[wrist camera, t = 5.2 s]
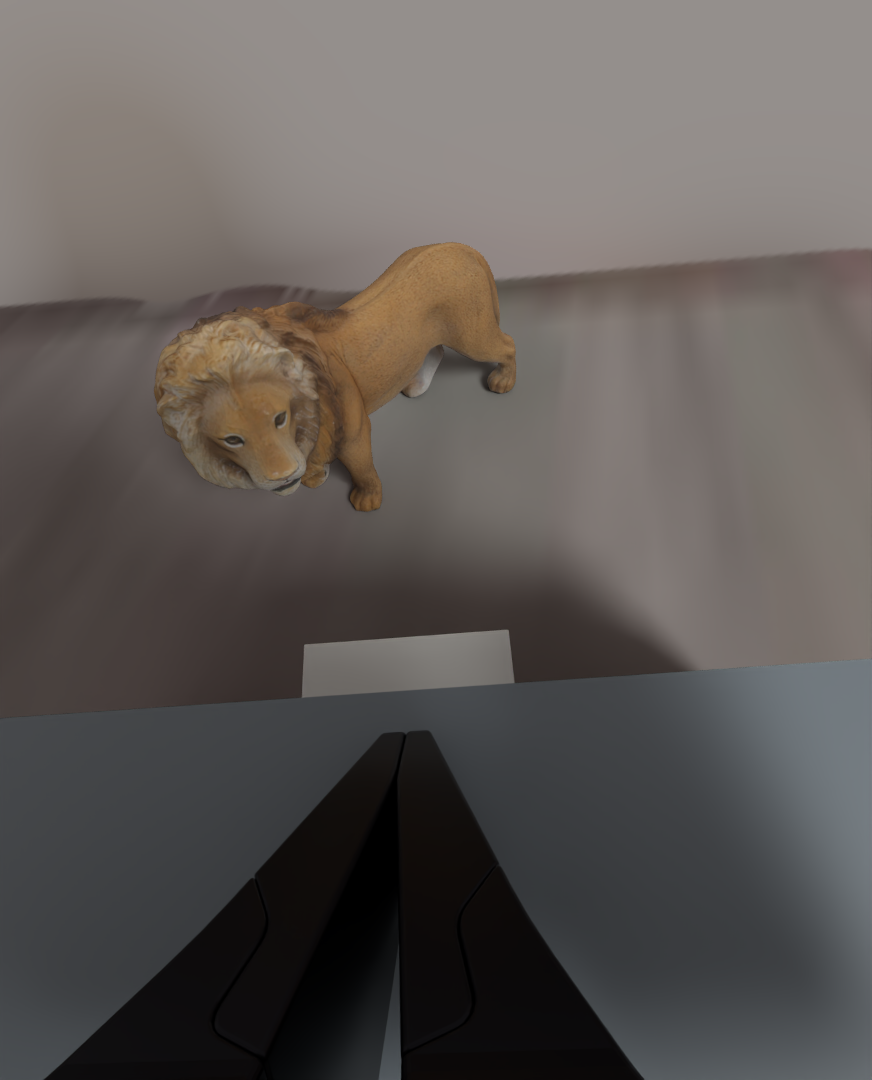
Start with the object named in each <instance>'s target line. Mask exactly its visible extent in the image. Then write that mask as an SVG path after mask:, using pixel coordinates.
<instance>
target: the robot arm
mask: <svg viewBox="0 0 872 1080" xmlns="http://www.w3.org/2000/svg"><path fill="white" fill-rule="evenodd" d="M254 878H255V879H254ZM254 878H250V879H249V880H248V881H247V882H246V884H245V885H244V886H243V887H242V888H241V889H240V890H239V891H238V892H237V893H236V895H235V896H234V897H233V898H232V899H231V900H230V901H229V902H228V903H227V904H226V905H225V906H224V907H223V908H222V909H221V911H220V912H219V913H218V914H217V915H216V916H215V917H214V918H213V919H212V920H211V921H210V922H209V923H208V924H207V925H206V926H205V927H204V928H203V930H202V931H201V932H200V933H199V934H197V935H196V936H195V937H194V938H193V939H192V940H191V941H190V942H189V943H188V944H187V945H186V946H185V947H184V948H183V949H182V950H181V951H180V952H179V953H178V954H177V955H176V956H175V957H174V958H173V959H172V960H171V961H170V962H169V963H168V964H167V965H166V966H165V967H164V968H163V969H162V970H160V971H159V972H158V973H157V974H156V975H155V976H154V977H153V978H152V979H151V980H150V981H149V982H148V983H147V984H146V985H144V986H143V987H142V988H141V989H140V990H139V991H138V992H137V993H136V994H135V995H134V996H133V997H132V998H131V999H130V1000H129V1001H127V1002H126V1003H125V1004H124V1005H123V1006H122V1007H121V1008H120V1009H119V1010H118V1011H117V1012H116V1013H115V1014H114V1015H113V1016H112V1017H110V1018H109V1019H108V1020H107V1021H106V1022H105V1023H104V1024H103V1025H102V1026H101V1027H100V1028H99V1029H98V1030H97V1031H96V1032H94V1033H93V1034H92V1035H91V1036H90V1037H89V1038H88V1039H87V1040H86V1041H85V1042H84V1043H83V1044H82V1045H81V1046H80V1047H79V1048H77V1049H76V1050H75V1051H74V1052H73V1053H72V1054H71V1055H70V1056H69V1057H68V1058H67V1059H66V1060H65V1061H64V1062H63V1063H62V1064H60V1065H59V1066H58V1067H57V1068H56V1069H55V1070H54V1071H53V1072H51V1073H50V1074H49V1075H48V1076H47V1077H46V1078H45V1079H44V1080H379V1074H380V1067H381V1060H382V1053H383V1047H384V1040H385V1033H386V1026H387V1020H388V1013H389V1006H390V999H391V993H392V986H393V979H394V972H395V966H396V959H397V952H398V945H399V986H400V1048H401V1080H645V1079H644V1078H643V1077H642V1076H641V1074H640V1073H639V1072H638V1071H637V1069H636V1068H635V1067H634V1065H633V1064H632V1063H631V1061H630V1060H629V1059H628V1057H627V1056H626V1055H625V1053H624V1052H623V1051H622V1049H621V1048H620V1046H619V1045H618V1044H617V1042H616V1041H615V1039H614V1038H613V1037H612V1035H611V1034H610V1032H609V1031H608V1030H607V1028H606V1027H605V1025H604V1024H603V1023H602V1021H601V1020H600V1018H599V1017H598V1015H597V1014H596V1013H595V1011H594V1010H593V1008H592V1007H591V1006H590V1004H589V1003H588V1001H587V1000H586V999H585V997H584V996H583V994H582V993H581V992H580V990H579V989H578V987H577V986H576V984H575V983H574V982H573V980H572V979H571V977H570V976H569V975H568V973H567V972H566V970H565V969H564V968H563V966H562V965H561V963H560V962H559V961H558V959H557V958H556V956H555V955H554V953H553V952H552V950H551V949H550V947H549V946H548V944H547V943H546V941H545V940H544V938H543V937H542V935H541V934H540V932H539V931H538V929H537V928H536V926H535V925H534V923H533V922H532V920H531V919H530V917H529V915H528V914H527V912H526V910H525V908H524V907H523V905H522V903H521V901H520V900H519V898H518V896H517V894H516V893H515V891H514V889H513V887H512V885H511V884H510V882H509V880H508V878H507V876H506V874H505V872H504V870H503V868H502V867H501V866H500V864H499V861H498V859H497V857H496V856H495V854H494V852H493V850H492V848H491V846H490V844H489V842H488V840H487V838H486V836H485V835H484V833H483V831H482V829H481V827H480V825H479V823H478V821H477V819H476V817H475V815H474V814H473V812H472V810H471V808H470V806H469V804H468V802H467V800H466V798H465V796H464V794H463V793H462V791H461V789H460V787H459V785H458V783H457V781H456V779H455V777H454V775H453V773H452V772H451V770H450V768H449V766H448V764H447V762H446V760H445V758H444V756H443V754H442V752H441V751H440V749H439V747H438V745H437V743H436V741H435V739H434V737H433V735H432V733H431V732H430V731H429V730H420V731H409V732H408V733H407V734H405V733H404V732H389V733H383V734H381V735H380V736H379V737H378V738H377V739H376V741H375V742H374V743H373V744H372V745H371V746H370V747H369V748H368V749H367V750H366V752H365V753H364V754H363V755H362V756H361V757H360V758H359V759H358V760H357V762H356V763H355V764H354V765H353V766H352V767H351V768H350V769H349V770H348V771H347V773H346V774H345V775H344V776H343V777H342V778H341V779H340V780H339V781H338V782H337V784H336V785H335V786H334V787H333V788H332V789H331V790H330V791H329V792H328V793H327V795H326V796H325V797H324V798H323V799H322V800H321V801H320V802H319V803H318V804H317V806H316V807H315V808H314V809H313V810H312V811H311V812H310V813H309V814H308V816H307V817H306V818H305V819H304V820H303V821H302V822H301V823H300V824H299V825H298V827H297V828H296V829H295V830H294V831H293V832H292V833H291V834H290V835H289V836H288V838H287V839H286V840H285V841H284V842H283V843H282V844H281V845H280V846H279V847H278V849H277V850H276V851H275V852H274V853H273V854H272V855H271V856H270V857H269V858H268V860H267V861H266V862H265V863H264V864H263V865H262V866H261V867H260V868H259V870H258V871H257V872H256V873H255V875H254Z"/></svg>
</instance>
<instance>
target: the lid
mask: <svg viewBox="0 0 872 1080" xmlns="http://www.w3.org/2000/svg"><path fill="white" fill-rule="evenodd" d="M420 730H429V731H430V732H431V733H432V735H433V737H434V739H435V741H436V743H437V745H438V747H439V749H440V751H441V752H442V754H443V756H444V758H445V760H446V762H447V764H448V766H449V768H450V770H451V772H452V773H453V775H454V777H455V779H456V781H457V783H458V785H459V787H460V789H461V791H462V793H463V794H464V796H465V798H466V800H467V802H468V804H469V806H470V808H471V810H472V812H473V814H474V815H475V817H476V819H477V821H478V823H479V825H480V827H481V829H482V831H483V833H484V835H485V836H486V838H487V840H488V842H489V844H490V846H491V848H492V850H493V852H494V854H495V856H496V857H497V859H498V861H499V864H500V866H501V867H502V868H503V870H504V872H505V874H506V876H507V878H508V880H509V882H510V884H511V885H512V887H513V889H514V891H515V893H516V894H517V896H518V898H519V900H520V901H521V903H522V905H523V907H524V908H525V910H526V912H527V914H528V915H529V917H530V919H531V920H532V922H533V923H534V925H535V926H536V928H537V929H538V931H539V932H540V934H541V935H542V937H543V938H544V940H545V941H546V943H547V944H548V946H549V947H550V949H551V950H552V952H553V953H554V955H555V956H556V958H557V959H558V961H559V962H560V963H561V965H562V966H563V968H564V969H565V970H566V972H567V973H568V975H569V976H570V977H571V979H572V980H573V982H574V983H575V984H576V986H577V987H578V989H579V990H580V992H581V993H582V994H583V996H584V997H585V999H586V1000H587V1001H588V1003H589V1004H590V1006H591V1007H592V1008H593V1010H594V1011H595V1013H596V1014H597V1015H598V1017H599V1018H600V1020H601V1021H602V1023H603V1024H604V1025H605V1027H606V1028H607V1030H608V1031H609V1032H610V1034H611V1035H612V1037H613V1038H614V1039H615V1041H616V1042H617V1044H618V1045H619V1046H620V1048H621V1049H622V1051H623V1052H624V1053H625V1055H626V1056H627V1057H628V1059H629V1060H630V1061H631V1063H632V1064H633V1065H634V1067H635V1068H636V1069H637V1071H638V1072H639V1073H640V1074H641V1076H642V1077H643V1078H644V1079H645V1080H872V659H861V660H846V661H831V662H817V663H802V664H787V665H773V666H758V667H743V668H729V669H714V670H699V671H685V672H670V673H655V674H641V675H626V676H611V677H597V678H582V679H567V680H553V681H538V682H523V683H515V682H514V674H513V665H512V656H511V647H510V639H509V630H495V631H482V632H468V633H455V634H441V635H428V636H414V637H401V638H387V639H373V640H360V641H346V642H333V643H319V644H306V645H304V661H303V683H302V698H289V699H274V700H260V701H245V702H230V703H216V704H201V705H186V706H172V707H157V708H142V709H128V710H113V711H98V712H84V713H69V714H54V715H40V716H25V717H10V718H0V1080H44V1079H45V1078H46V1077H47V1076H48V1075H49V1074H50V1073H51V1072H53V1071H54V1070H55V1069H56V1068H57V1067H58V1066H59V1065H60V1064H62V1063H63V1062H64V1061H65V1060H66V1059H67V1058H68V1057H69V1056H70V1055H71V1054H72V1053H73V1052H74V1051H75V1050H76V1049H77V1048H79V1047H80V1046H81V1045H82V1044H83V1043H84V1042H85V1041H86V1040H87V1039H88V1038H89V1037H90V1036H91V1035H92V1034H93V1033H94V1032H96V1031H97V1030H98V1029H99V1028H100V1027H101V1026H102V1025H103V1024H104V1023H105V1022H106V1021H107V1020H108V1019H109V1018H110V1017H112V1016H113V1015H114V1014H115V1013H116V1012H117V1011H118V1010H119V1009H120V1008H121V1007H122V1006H123V1005H124V1004H125V1003H126V1002H127V1001H129V1000H130V999H131V998H132V997H133V996H134V995H135V994H136V993H137V992H138V991H139V990H140V989H141V988H142V987H143V986H144V985H146V984H147V983H148V982H149V981H150V980H151V979H152V978H153V977H154V976H155V975H156V974H157V973H158V972H159V971H160V970H162V969H163V968H164V967H165V966H166V965H167V964H168V963H169V962H170V961H171V960H172V959H173V958H174V957H175V956H176V955H177V954H178V953H179V952H180V951H181V950H182V949H183V948H184V947H185V946H186V945H187V944H188V943H189V942H190V941H191V940H192V939H193V938H194V937H195V936H196V935H197V934H199V933H200V932H201V931H202V930H203V928H204V927H205V926H206V925H207V924H208V923H209V922H210V921H211V920H212V919H213V918H214V917H215V916H216V915H217V914H218V913H219V912H220V911H221V909H222V908H223V907H224V906H225V905H226V904H227V903H228V902H229V901H230V900H231V899H232V898H233V897H234V896H235V895H236V893H237V892H238V891H239V890H240V889H241V888H242V887H243V886H244V885H245V884H246V882H247V881H248V880H249V879H250V878H254V875H255V873H256V872H257V871H258V870H259V868H260V867H261V866H262V865H263V864H264V863H265V862H266V861H267V860H268V858H269V857H270V856H271V855H272V854H273V853H274V852H275V851H276V850H277V849H278V847H279V846H280V845H281V844H282V843H283V842H284V841H285V840H286V839H287V838H288V836H289V835H290V834H291V833H292V832H293V831H294V830H295V829H296V828H297V827H298V825H299V824H300V823H301V822H302V821H303V820H304V819H305V818H306V817H307V816H308V814H309V813H310V812H311V811H312V810H313V809H314V808H315V807H316V806H317V804H318V803H319V802H320V801H321V800H322V799H323V798H324V797H325V796H326V795H327V793H328V792H329V791H330V790H331V789H332V788H333V787H334V786H335V785H336V784H337V782H338V781H339V780H340V779H341V778H342V777H343V776H344V775H345V774H346V773H347V771H348V770H349V769H350V768H351V767H352V766H353V765H354V764H355V763H356V762H357V760H358V759H359V758H360V757H361V756H362V755H363V754H364V753H365V752H366V750H367V749H368V748H369V747H370V746H371V745H372V744H373V743H374V742H375V741H376V739H377V738H378V737H379V736H380V735H381V734H383V733H389V732H404V733H405V734H407V733H408V732H409V731H420ZM254 879H255V878H254ZM379 1080H401V1048H400V986H399V945H398V952H397V959H396V966H395V972H394V979H393V986H392V993H391V999H390V1006H389V1013H388V1020H387V1026H386V1033H385V1040H384V1047H383V1053H382V1060H381V1067H380V1074H379Z"/></svg>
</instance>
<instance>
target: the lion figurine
mask: <svg viewBox="0 0 872 1080" xmlns="http://www.w3.org/2000/svg"><path fill="white" fill-rule="evenodd" d="M499 321H500V313H499V303H498V295H497V290H496V285H495V281H494V277H493V274H492V272H491V269H490V267H489V265H488V263H487V261H486V260H485V259H484V257H483V256H482V255H481V254H480V253H479V252H478V251H476V250H475V249H473V248H471V247H470V246H467V245H464V244H461V243H453V242H449V243H443V244H432V245H426V246H421V247H415V248H412V249H409V250H408V251H406V252H404V253H403V254H402V255H401V256H400V257H398V258H397V259H396V260H395V261H394V263H393V264H391V265H390V267H388V269H387V270H386V271H385V272H384V273H383V274H382V275H381V276H380V277H379V278H378V279H377V280H376V281H374V282H373V283H372V284H371V285H370V286H368V287H367V288H366V289H365V290H363V291H362V292H361V293H359V294H358V295H357V296H355V297H354V298H352V299H351V300H349V301H348V302H346V303H345V304H343V305H341V306H340V307H338V308H336V309H335V310H320V309H318V308H315V307H313V306H311V305H308V304H303V303H300V302H288V303H286V304H283V305H277V306H272V307H270V308H268V309H266V310H264V309H262V308H260V307H256V308H254V309H252V310H249V309H247V308H245V307H243V306H239V307H236V308H235V310H234V311H233V312H226V313H221V314H219V315H215V316H211V317H208V318H200V319H198V320H197V322H196V323H195V325H194V327H193V328H192V329H188V330H184V331H182V332H180V333H178V336H177V337H176V338H175V339H173V340H172V341H171V343H170V344H169V345H168V346H167V347H165V348H164V349H163V350H162V352H161V355H160V359H159V363H158V366H157V371H156V380H155V387H154V394H155V398H156V401H157V413H158V414H159V415H160V416H161V417H162V424H163V427H164V430H165V433H166V434H167V435H169V436H170V437H172V438H174V439H175V440H176V441H178V442H179V443H180V444H181V448H182V451H183V453H184V455H185V457H186V458H187V459H188V460H189V461H190V463H191V464H192V465H193V466H194V468H195V469H196V471H197V472H198V474H199V475H200V476H201V477H202V478H204V479H205V480H207V481H209V482H211V483H213V484H215V485H217V486H221V487H226V488H228V489H230V488H242V489H264V490H271V491H272V492H273V493H275V494H277V495H280V496H287V495H290V494H292V493H294V492H295V491H296V490H297V489H298V487H299V485H300V483H301V482H302V484H303V485H305V486H308V487H310V488H316V487H318V486H320V485H321V484H323V483H324V482H325V481H326V480H327V478H328V476H329V471H330V469H329V464H331V463H332V462H333V461H334V460H335V459H336V458H338V459H339V460H340V461H341V462H342V463H343V464H344V465H345V467H346V468H347V469H348V471H349V472H350V473H351V476H352V482H353V485H354V489H353V491H352V493H351V495H350V500H351V503H352V504H353V505H354V506H355V509H356V510H357V511H366V512H367V511H371V510H376V509H379V508H380V505H381V501H382V486H381V482H380V480H379V477H378V475H377V472H376V470H375V468H374V465H373V459H372V452H371V423H370V419H369V417H368V416H367V415H369V414H371V413H373V412H374V411H376V410H377V409H379V408H380V407H382V406H383V405H385V404H386V403H388V402H389V401H390V400H392V399H393V398H394V397H395V396H396V395H397V394H398V393H400V392H402V393H404V394H405V395H406V396H408V397H416V396H419V395H421V394H422V393H424V392H425V391H426V390H427V389H428V387H429V385H430V382H431V380H432V377H433V375H434V373H435V371H436V369H437V367H438V365H439V363H440V361H441V360H442V358H443V356H444V350H443V347H442V344H443V345H445V346H447V347H449V348H451V349H453V350H455V351H456V352H458V353H460V354H462V355H464V356H466V357H468V358H470V359H472V360H474V361H477V362H491V363H498V366H497V367H496V369H495V370H493V371H492V372H491V374H490V375H489V377H488V380H487V382H488V386H489V388H490V390H491V391H495V392H497V393H506V392H509V391H510V390H511V389H512V388H513V386H514V384H515V381H516V362H515V353H516V351H515V345H514V341H513V339H512V337H511V336H509V335H507V334H505V333H502V332H501V330H500V328H499Z"/></svg>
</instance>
